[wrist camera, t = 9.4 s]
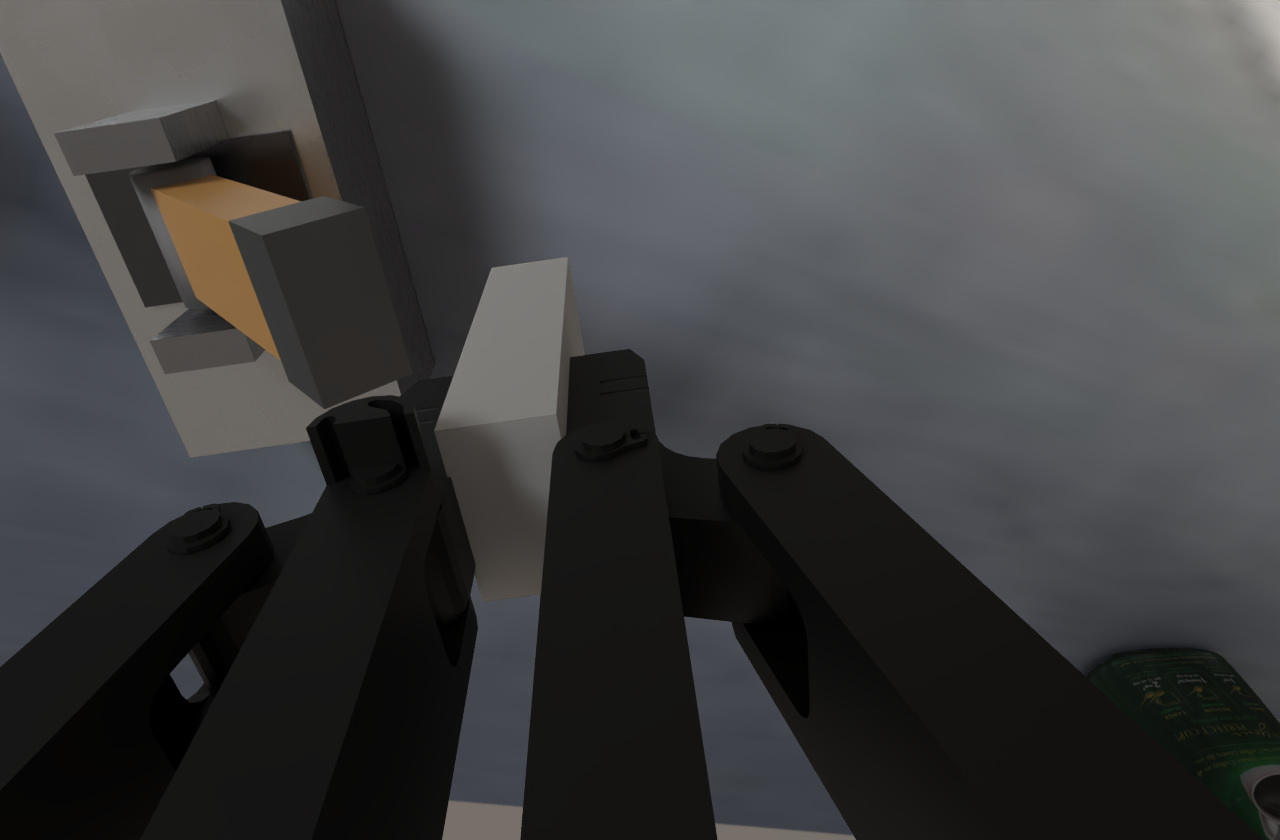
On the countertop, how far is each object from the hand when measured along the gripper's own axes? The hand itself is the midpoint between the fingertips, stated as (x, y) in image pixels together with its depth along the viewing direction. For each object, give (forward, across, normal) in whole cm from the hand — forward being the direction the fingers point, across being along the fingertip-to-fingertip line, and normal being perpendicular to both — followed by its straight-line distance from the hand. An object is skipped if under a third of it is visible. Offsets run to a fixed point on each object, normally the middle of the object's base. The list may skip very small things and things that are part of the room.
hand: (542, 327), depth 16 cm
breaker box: (+20, -12, 0) cm, 23 cm away
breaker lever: (+13, -13, 0) cm, 18 cm away
